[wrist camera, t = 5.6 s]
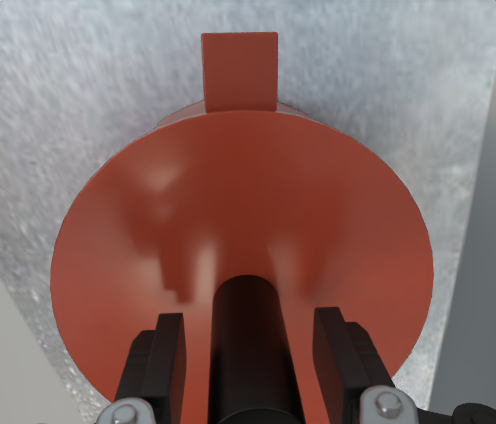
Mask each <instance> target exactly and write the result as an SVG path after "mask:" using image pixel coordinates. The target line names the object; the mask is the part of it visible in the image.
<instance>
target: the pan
mask: <svg viewBox="0 0 496 424" xmlns="http://www.w3.org/2000/svg"><path fill="white" fill-rule="evenodd" d="M201 46H202V66H203V87H204V100H202V101H200V102H197V103H194V104H192V105H189V106H187V107H185V108H183V109H181V110H179V111H177V112H175V113H173V114H171V115H169V116H167V117H164V119H162V120H161V121H160V122H159V123H158V125H157V126H156V127H155V128H154V129H156V128H158V127H160V126H163V125H166V124H168V123H171V122H174V121H176V120H179V119H182V118H184V117H188V116H193V115H197V114H202V113H206V112H210V111H217V110H228V109H240V108H246V109H268V110H275V111H281V112H286V113H292V114H297V115H301V116H304V117H307V118H310V119H312V118H311V117H310V116H308V115H307V114H305V113H302V112H300V111H297V110H295V109H293V108H291V107H289V106H287V105H285V104H282V103H279V102H277V88H278V33H277V32H242V33H202V34H201ZM154 129H153V130H154Z"/></svg>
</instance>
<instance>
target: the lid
mask: <svg viewBox="0 0 496 424" xmlns="http://www.w3.org/2000/svg"><path fill="white" fill-rule="evenodd" d="M433 276H434V273H433V257H432V249H431V245H430V240H429V235H428V231H427V228H426V226H425V223H424V220H423V218H422V215H421V213H420V210H419V208H418V206H417V205H416V203H415V201H414V199H413V198H412V196H411V194H410V192H409V191H408V189H407V188H406V186H405V185H404V184H403V183H402V181H401V180H400V179H399V178H398V176H397V175H396V174H395V173H394V171H393V170H392V169H391V168H390V167H389V166H388V165H387V164H385V163H384V162H383V161H382V160H381V159H380V158H379V157H378V156H377V155H376V154H375V153H374V152H372V151H371V150H369V149H368V148H367V147H365V146H364V145H362V144H361V143H359V142H358V141H356V140H355V139H353V138H352V137H350V136H349V135H347V134H345V133H343V132H341V131H339V130H337V129H335V128H333V127H331V126H329V125H327V124H325V123H322V122H319V121H316V120H313V119H310V118H307V117H304V116H301V115H297V114H292V113H286V112H281V111H275V110H268V109H246V108H240V109H228V110H217V111H210V112H206V113H202V114H197V115H193V116H188V117H184V118H182V119H179V120H176V121H174V122H171V123H168V124H166V125H163V126H160V127H158V128H156V129H154V130H152V131H151V132H149V133H147V134H145V135H143V136H141V137H139V138H138V139H136V140H134V141H133V142H131V143H130V144H129V145H127V146H126V147H124V148H123V149H122V150H120V151H119V152H118V153H116V154H115V155H114V156H112V157H111V158H110V159H109V160H108V161H107V162H106V163H105V164H104V165H103V166H102V167H101V168H100V169H99V170H98V171H97V172H96V173H95V174H94V175H93V176H92V177H91V178H90V179H89V181H88V182H87V183H86V185H85V186H84V187H83V189H82V190H81V191H80V193H79V194H78V195H77V197H76V198H75V200H74V202H73V203H72V205H71V207H70V209H69V211H68V213H67V214H66V216H65V218H64V220H63V223H62V225H61V228H60V231H59V234H58V237H57V239H56V242H55V247H54V252H53V258H52V263H51V280H50V291H51V299H52V307H53V313H54V316H55V320H56V323H57V327H58V330H59V333H60V336H61V338H62V340H63V342H64V344H65V347H66V349H67V351H68V353H69V355H70V356H71V358H72V359H73V361H74V362H75V364H76V366H77V367H78V369H79V370H80V371H81V373H82V374H83V375H84V376H85V377H86V379H87V380H88V381H89V382H90V383H91V385H92V386H93V387H94V388H95V389H96V390H97V391H99V392H100V393H101V394H102V395H103V396H104V397H105V398H106V399H107V400H108V401H110V402H111V403H113V402H114V399H115V395H116V392H117V389H118V386H119V382H120V379H121V376H122V373H123V370H124V366H125V363H126V360H127V357H128V355H129V350H130V347H131V344H132V341H133V340H134V339H135V338H136V337H137V335H138V334H139V333H140V332H141V331H142V330H155V328H156V324H157V320H158V316H159V314H160V313H183V317H184V330H185V342H186V358H187V364H186V378H185V387H184V395H183V404H182V412H181V421H180V424H330V421H329V418H328V414H327V411H326V407H325V404H324V400H323V396H322V393H321V389H320V386H319V382H318V379H317V375H316V371H315V368H314V363H313V354H312V343H313V322H314V309H315V308H316V307H339V309H340V311H341V313H342V315H343V318H344V320H345V322H357V323H358V324H359V325H361V326H362V327H363V328H364V329H365V330H366V331H368V333H369V335H370V337H371V339H372V341H373V345H375V347H376V349H377V351H378V355H380V357H381V359H382V361H383V363H384V365H385V367H386V369H387V371H388V373H389V375H390V377H391V378H392V377H393V376H394V375H395V374H396V373H397V371H398V370H399V369H400V367H401V366H402V364H403V363H404V362H405V360H406V359H407V357H408V356H409V355H410V353H411V351H412V349H413V347H414V345H415V344H416V342H417V340H418V338H419V336H420V334H421V331H422V328H423V326H424V323H425V321H426V318H427V315H428V310H429V306H430V302H431V297H432V288H433Z"/></svg>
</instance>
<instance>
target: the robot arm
mask: <svg viewBox="0 0 496 424" xmlns="http://www.w3.org/2000/svg"><path fill="white" fill-rule="evenodd" d="M312 354H313V363H314V368H315V371H316V375H317V379H318V382H319V386H320V389H321V393H322V396H323V400H324V404H325V407H326V411H327V414H328V418H329V421H330V424H496V410H495V409H493V408H491V407H488V406H485V405H482V404H477V403H465V404H461V405H459V406H457V407H456V408H455V410H454V412H453V415H452V416H448V415H443V414H438V413H434V412H429V411H425V410H422V409H420V408H418V407H416V405H415V403H414V401H413V400H412V399H411V398H410V397H409V396H408V395H407V394H406V393H404V392H403V391H401V390H399V389H397V388H396V387H395V385H394V383H393V381H392V379H391V377H390V375H389V373H388V371H387V369H386V367H385V365H384V363H383V361H382V359H381V357H380V355H378V351H377V349H376V347H375V345H373V341H372V339H371V337H370V335H369V333H368V331H366V330H365V329H364V328H363V327H362V326H361V325H359V324H358V323H357V322H345V320H344V318H343V315H342V313H341V311H340V309H339V307H316V308H315V309H314V322H313V343H312ZM186 364H187V358H186V342H185V330H184V317H183V313H160V314H159V316H158V320H157V324H156V328H155V330H142V331H141V332H140V333H139V334H138V335H137V337H136V338H135V339H134V340H133V341H132V344H131V347H130V350H129V355H128V357H127V360H126V363H125V366H124V370H123V373H122V376H121V379H120V382H119V386H118V389H117V392H116V395H115V399H114V402H113V403H111V404H110V405H108V406H107V407H106V408H105V409H104V410H103V411H102V412H101V413H100V414H99V416H98V418H97V421H96V423H94V424H180V421H181V412H182V404H183V395H184V387H185V378H186Z"/></svg>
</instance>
